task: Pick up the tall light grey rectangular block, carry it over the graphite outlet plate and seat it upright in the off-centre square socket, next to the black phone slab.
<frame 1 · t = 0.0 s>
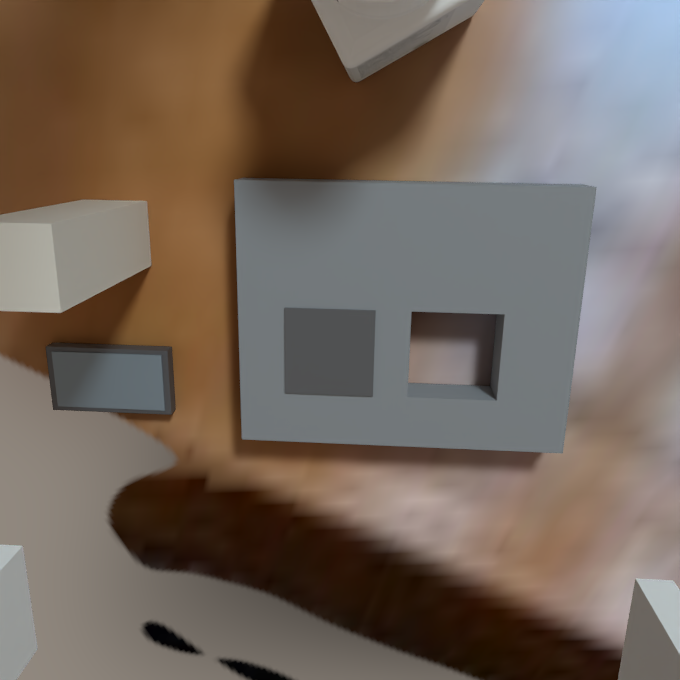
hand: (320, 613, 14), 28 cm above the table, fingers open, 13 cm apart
outlet plate: (404, 312, 41), on the table
light grey rectangular block: (117, 233, 40), on the table
phone: (114, 376, 43), on the table
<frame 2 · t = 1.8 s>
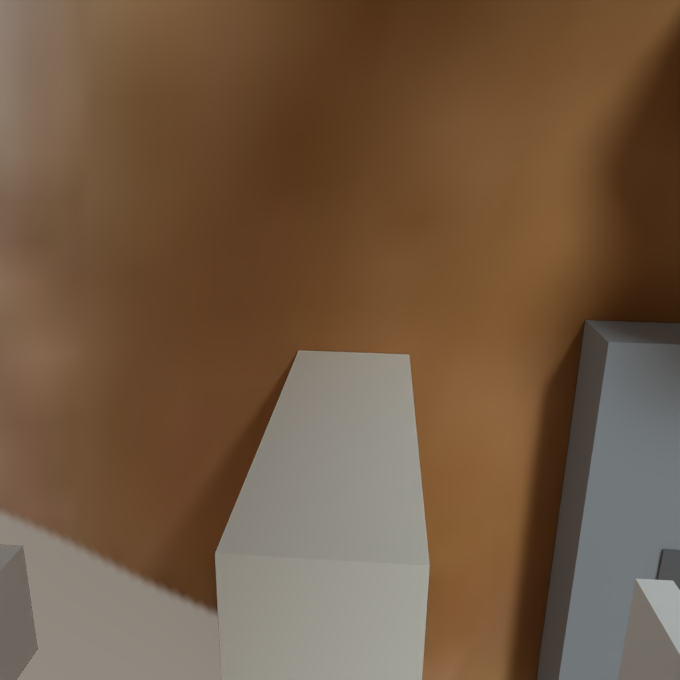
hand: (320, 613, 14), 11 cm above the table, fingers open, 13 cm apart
light grey rectangular block: (352, 403, 24), on the table
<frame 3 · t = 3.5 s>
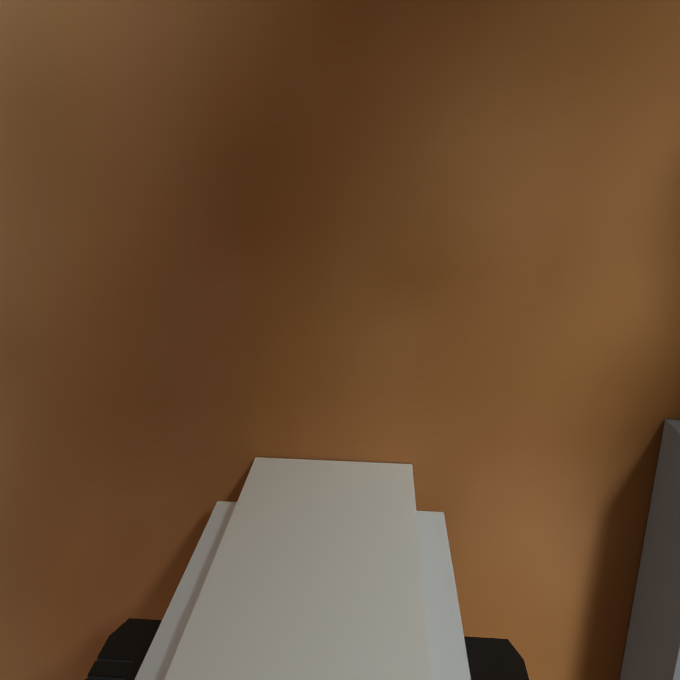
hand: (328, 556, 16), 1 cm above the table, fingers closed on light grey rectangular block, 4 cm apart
light grey rectangular block: (332, 529, 17), on the table, touching gripper
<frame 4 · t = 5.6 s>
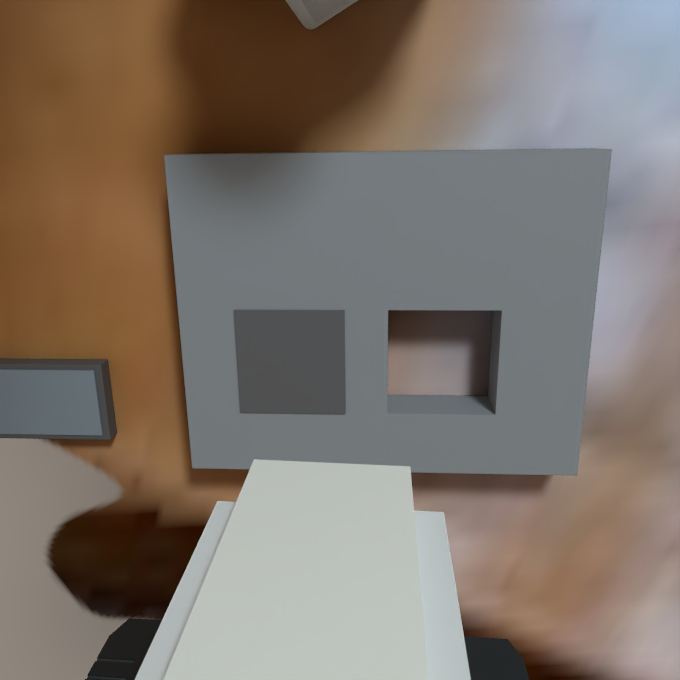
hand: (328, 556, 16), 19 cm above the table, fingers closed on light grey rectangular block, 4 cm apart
outlet plate: (381, 310, 34), on the table
light grey rectangular block: (330, 531, 17), point 18 cm above the table, touching gripper
phone: (43, 395, 37), on the table
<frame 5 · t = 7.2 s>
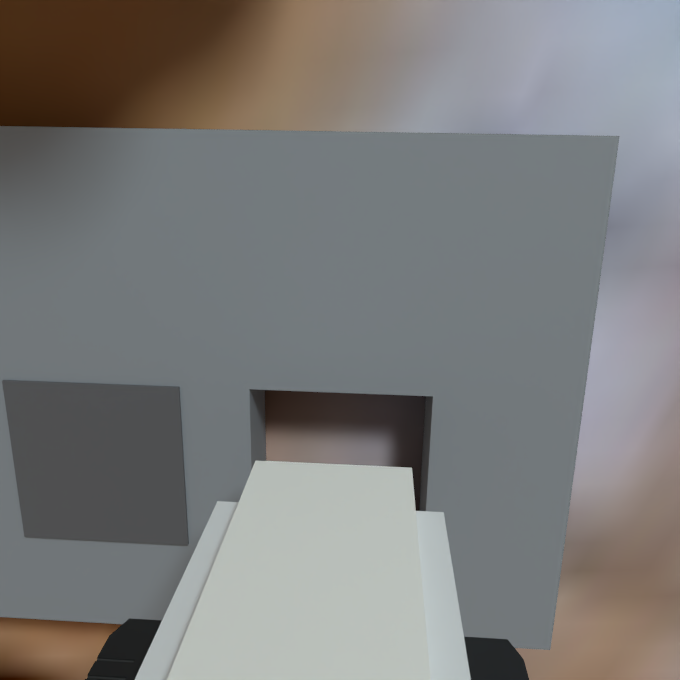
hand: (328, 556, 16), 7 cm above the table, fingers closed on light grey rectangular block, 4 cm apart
outlet plate: (255, 381, 22), on the table
light grey rectangular block: (332, 532, 17), point 5 cm above the table, touching gripper
when the fingers open (3 cm above the table, at t = 8.1 s): light grey rectangular block drops 2 cm, resting in outlet plate.
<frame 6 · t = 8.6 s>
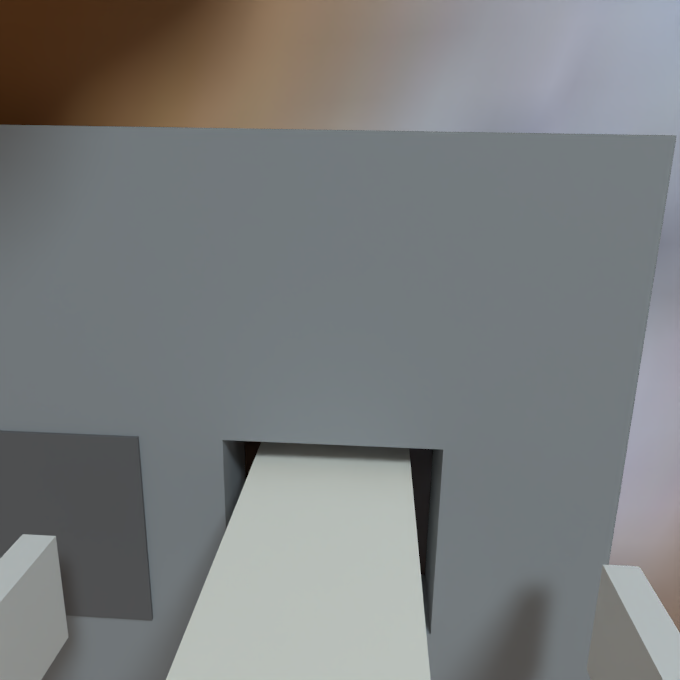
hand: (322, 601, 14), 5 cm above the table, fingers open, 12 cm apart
outlet plate: (233, 423, 19), on the table
light grey rectangular block: (336, 492, 19), resting in outlet plate
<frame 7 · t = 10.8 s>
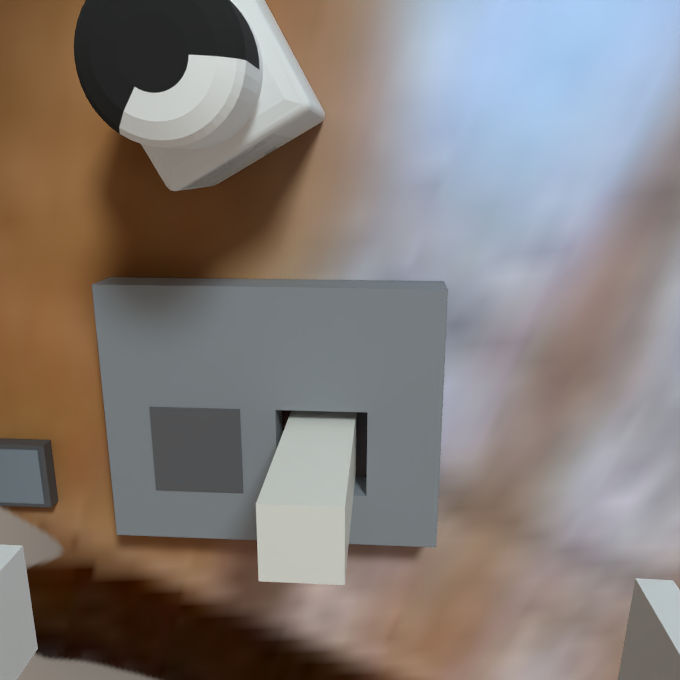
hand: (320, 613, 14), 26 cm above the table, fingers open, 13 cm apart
outlet plate: (277, 405, 41), on the table
light grey rectangular block: (324, 437, 41), resting in outlet plate
container: (234, 91, 36), on the table
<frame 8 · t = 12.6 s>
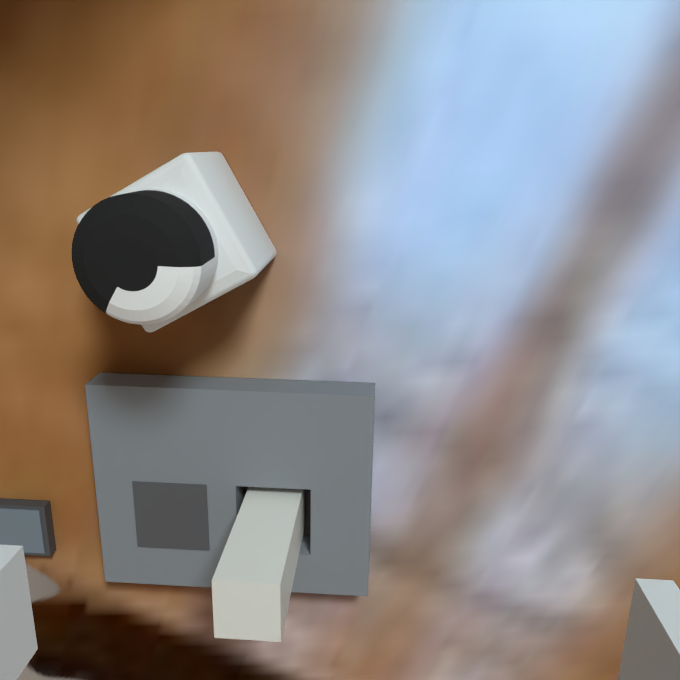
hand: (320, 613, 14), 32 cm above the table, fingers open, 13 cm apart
outlet plate: (239, 477, 49), on the table
light grey rectangular block: (278, 503, 49), resting in outlet plate
container: (202, 229, 44), on the table
phone: (3, 522, 52), on the table
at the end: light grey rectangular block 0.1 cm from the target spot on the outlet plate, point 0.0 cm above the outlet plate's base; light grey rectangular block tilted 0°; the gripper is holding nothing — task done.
